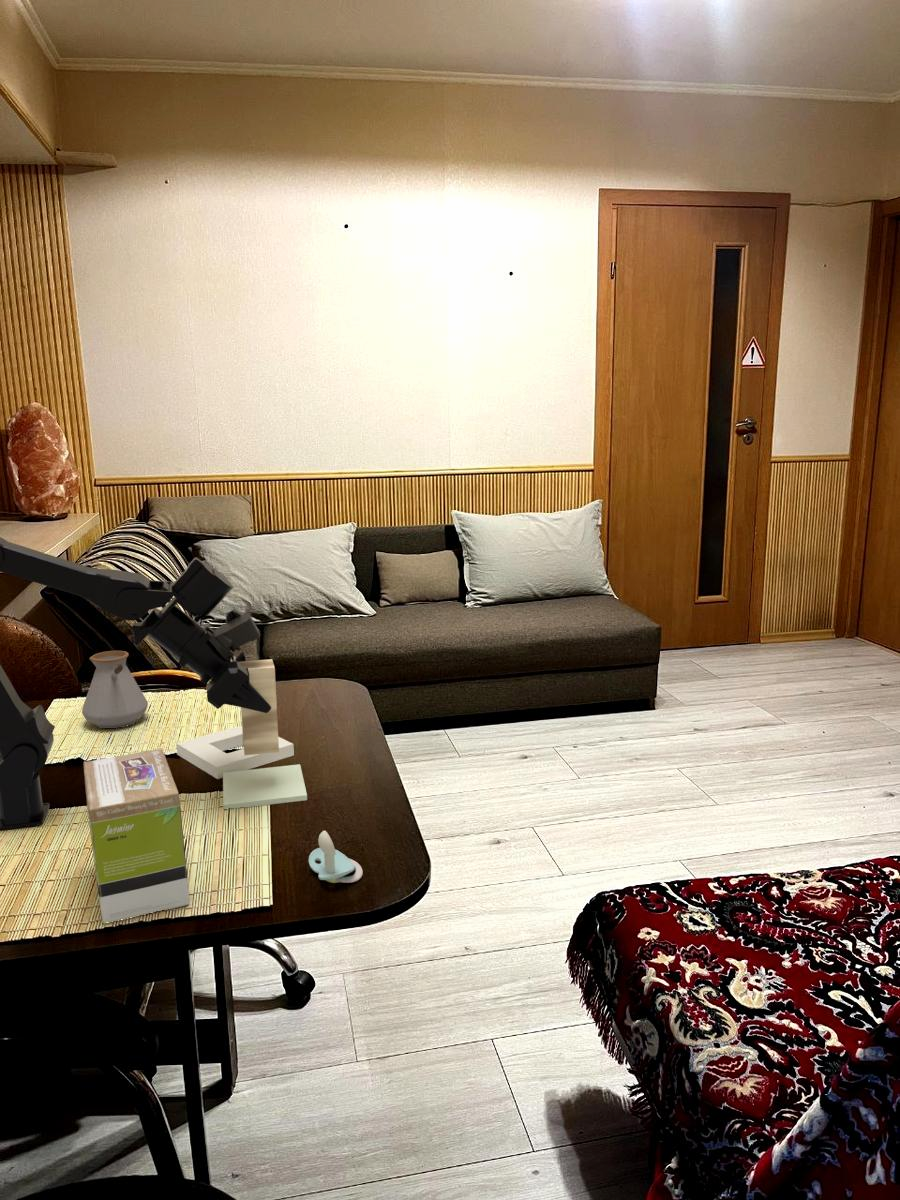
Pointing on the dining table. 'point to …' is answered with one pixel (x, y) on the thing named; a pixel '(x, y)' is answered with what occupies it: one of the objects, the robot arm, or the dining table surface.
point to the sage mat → (263, 786)
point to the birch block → (260, 725)
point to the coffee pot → (113, 693)
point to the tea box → (136, 835)
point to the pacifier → (333, 862)
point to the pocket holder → (216, 762)
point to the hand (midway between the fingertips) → (267, 704)
